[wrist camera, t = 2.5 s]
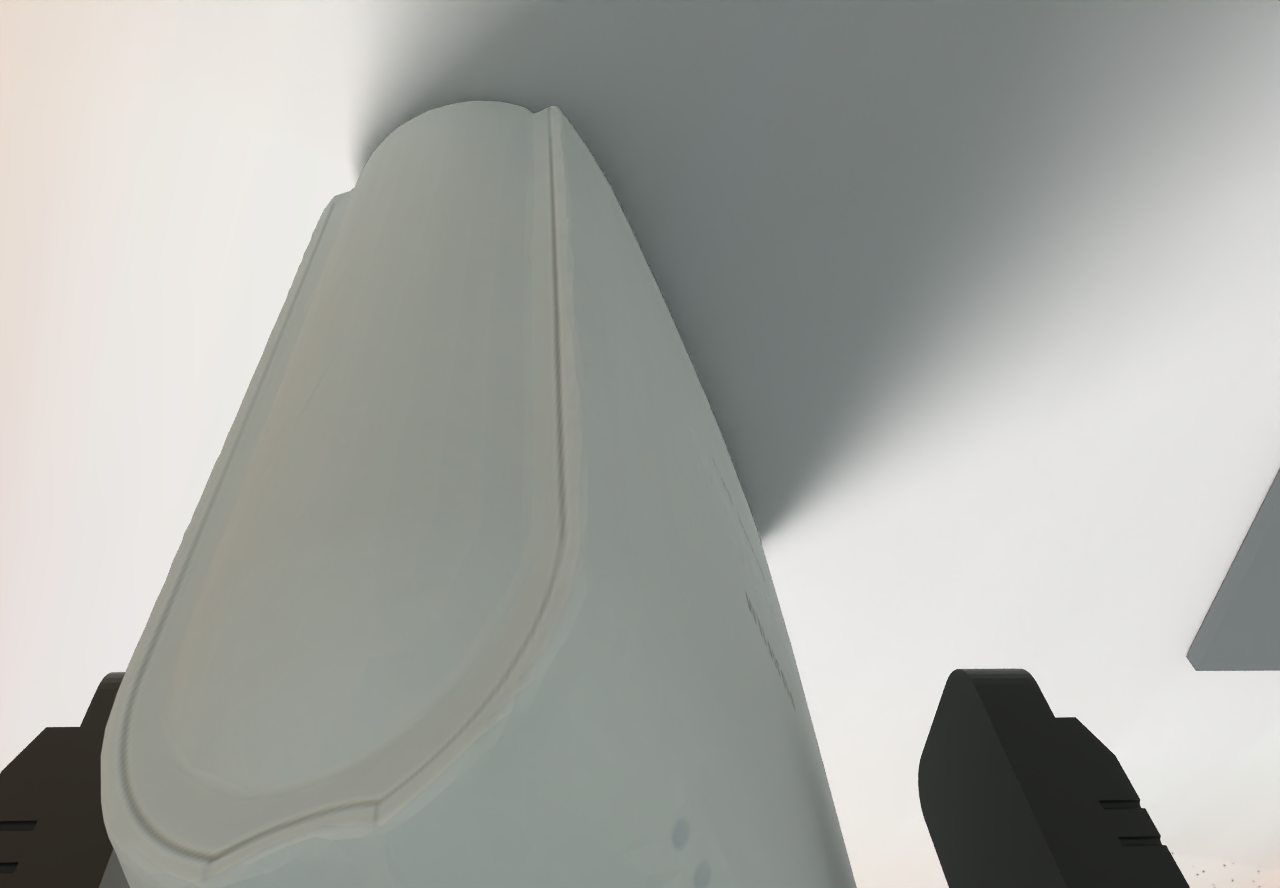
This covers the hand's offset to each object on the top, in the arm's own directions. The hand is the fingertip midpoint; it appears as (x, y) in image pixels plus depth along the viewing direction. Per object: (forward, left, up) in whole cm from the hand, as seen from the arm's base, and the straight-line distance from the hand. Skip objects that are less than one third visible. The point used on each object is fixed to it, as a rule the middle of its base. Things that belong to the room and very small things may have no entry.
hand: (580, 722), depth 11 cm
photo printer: (0, 0, -7) cm, 7 cm away
